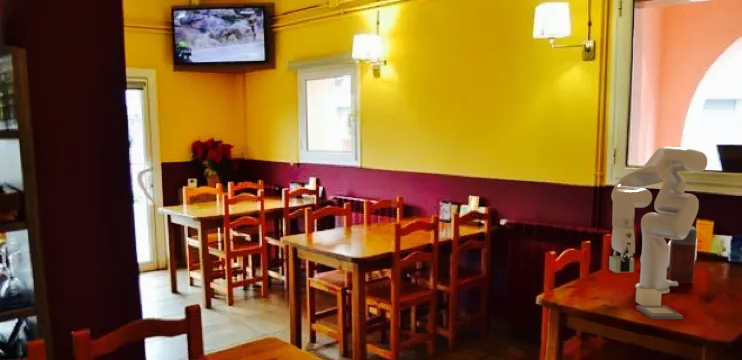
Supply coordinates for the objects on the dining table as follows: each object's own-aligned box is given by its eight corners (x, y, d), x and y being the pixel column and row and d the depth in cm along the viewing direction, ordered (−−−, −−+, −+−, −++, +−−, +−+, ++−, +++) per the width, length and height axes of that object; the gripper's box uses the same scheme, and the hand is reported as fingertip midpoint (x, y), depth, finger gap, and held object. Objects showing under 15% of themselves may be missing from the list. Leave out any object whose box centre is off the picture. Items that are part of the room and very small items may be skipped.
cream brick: (653, 301, 221) (654, 289, 221) (660, 306, 216) (661, 293, 216) (635, 302, 221) (636, 289, 220) (642, 306, 216) (643, 293, 215)
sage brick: (626, 268, 223) (627, 255, 223) (633, 272, 218) (634, 259, 218) (609, 268, 223) (609, 256, 222) (615, 272, 218) (615, 259, 217)
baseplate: (665, 308, 213) (665, 305, 213) (682, 319, 202) (682, 315, 202) (636, 308, 212) (636, 305, 212) (651, 319, 201) (651, 315, 201)
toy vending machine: (691, 277, 255) (695, 215, 253) (693, 284, 245) (697, 218, 242) (668, 275, 259) (672, 213, 256) (669, 281, 249) (673, 217, 246)
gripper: (644, 226, 210) (642, 275, 212) (622, 217, 227) (620, 263, 229) (623, 227, 210) (621, 276, 212) (603, 218, 226) (602, 263, 229)
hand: (621, 268), depth 220 cm, fingers closed on sage brick, 5 cm apart
